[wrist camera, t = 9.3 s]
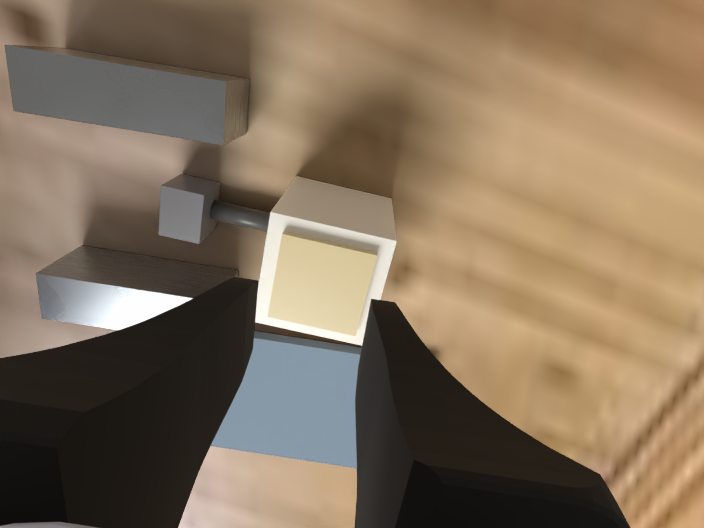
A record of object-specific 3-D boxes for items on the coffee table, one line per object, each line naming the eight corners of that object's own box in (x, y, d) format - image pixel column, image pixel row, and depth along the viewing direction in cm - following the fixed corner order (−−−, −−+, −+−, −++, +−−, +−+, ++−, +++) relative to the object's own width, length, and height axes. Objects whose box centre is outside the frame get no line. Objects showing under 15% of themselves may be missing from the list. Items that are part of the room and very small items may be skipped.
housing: (85, 285, 21) (41, 318, 18) (64, 48, 17) (4, 44, 14) (236, 309, 21) (215, 345, 19) (249, 78, 17) (226, 81, 15)
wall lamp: (176, 240, 20) (113, 296, 15) (183, 149, 18) (115, 179, 14) (368, 283, 20) (366, 351, 16) (391, 198, 19) (397, 244, 14)
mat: (163, 429, 24) (158, 437, 24) (161, 316, 22) (155, 322, 21) (404, 466, 25) (405, 475, 24) (433, 358, 22) (435, 366, 21)
